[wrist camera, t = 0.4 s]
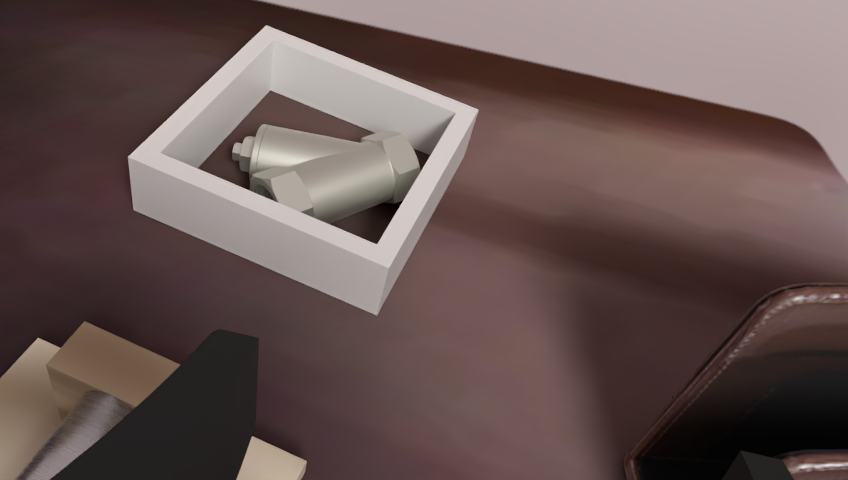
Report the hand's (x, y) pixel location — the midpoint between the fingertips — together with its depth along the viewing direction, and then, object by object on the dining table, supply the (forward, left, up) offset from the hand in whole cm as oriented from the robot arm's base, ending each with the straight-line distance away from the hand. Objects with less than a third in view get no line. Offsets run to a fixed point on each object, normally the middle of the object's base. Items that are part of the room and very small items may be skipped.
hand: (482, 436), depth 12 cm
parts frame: (+22, +12, -19) cm, 32 cm away
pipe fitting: (+22, +11, -20) cm, 32 cm away
